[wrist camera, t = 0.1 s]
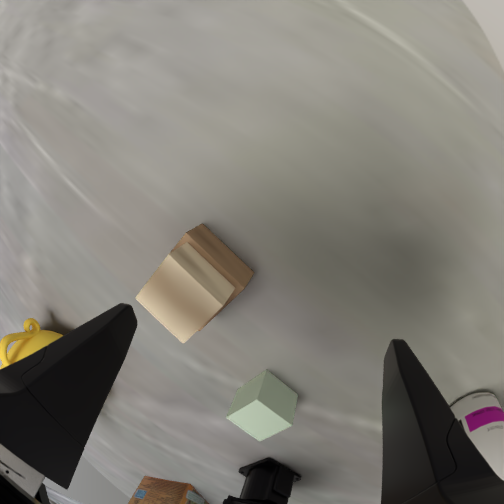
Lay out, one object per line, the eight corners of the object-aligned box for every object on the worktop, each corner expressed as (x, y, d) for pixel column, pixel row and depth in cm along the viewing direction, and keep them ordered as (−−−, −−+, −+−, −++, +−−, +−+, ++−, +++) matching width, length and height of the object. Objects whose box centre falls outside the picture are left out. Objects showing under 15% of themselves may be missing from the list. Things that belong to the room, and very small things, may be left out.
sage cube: (268, 411, 31) (259, 441, 27) (238, 388, 31) (225, 417, 26) (298, 394, 29) (292, 425, 25) (266, 368, 29) (256, 399, 25)
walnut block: (212, 312, 28) (199, 331, 25) (166, 268, 28) (147, 282, 25) (254, 271, 26) (244, 288, 23) (203, 222, 26) (186, 232, 23)
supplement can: (485, 376, 24) (530, 481, 10) (501, 408, 24) (536, 497, 10) (426, 417, 27) (446, 528, 13) (450, 443, 27) (468, 536, 13)
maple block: (197, 324, 25) (183, 343, 22) (154, 283, 25) (135, 297, 22) (235, 287, 23) (223, 305, 20) (187, 241, 23) (168, 254, 20)
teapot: (77, 305, 33) (3, 358, 21) (134, 424, 38) (92, 483, 26) (24, 306, 36) (-35, 344, 25) (76, 408, 42) (35, 453, 30)
